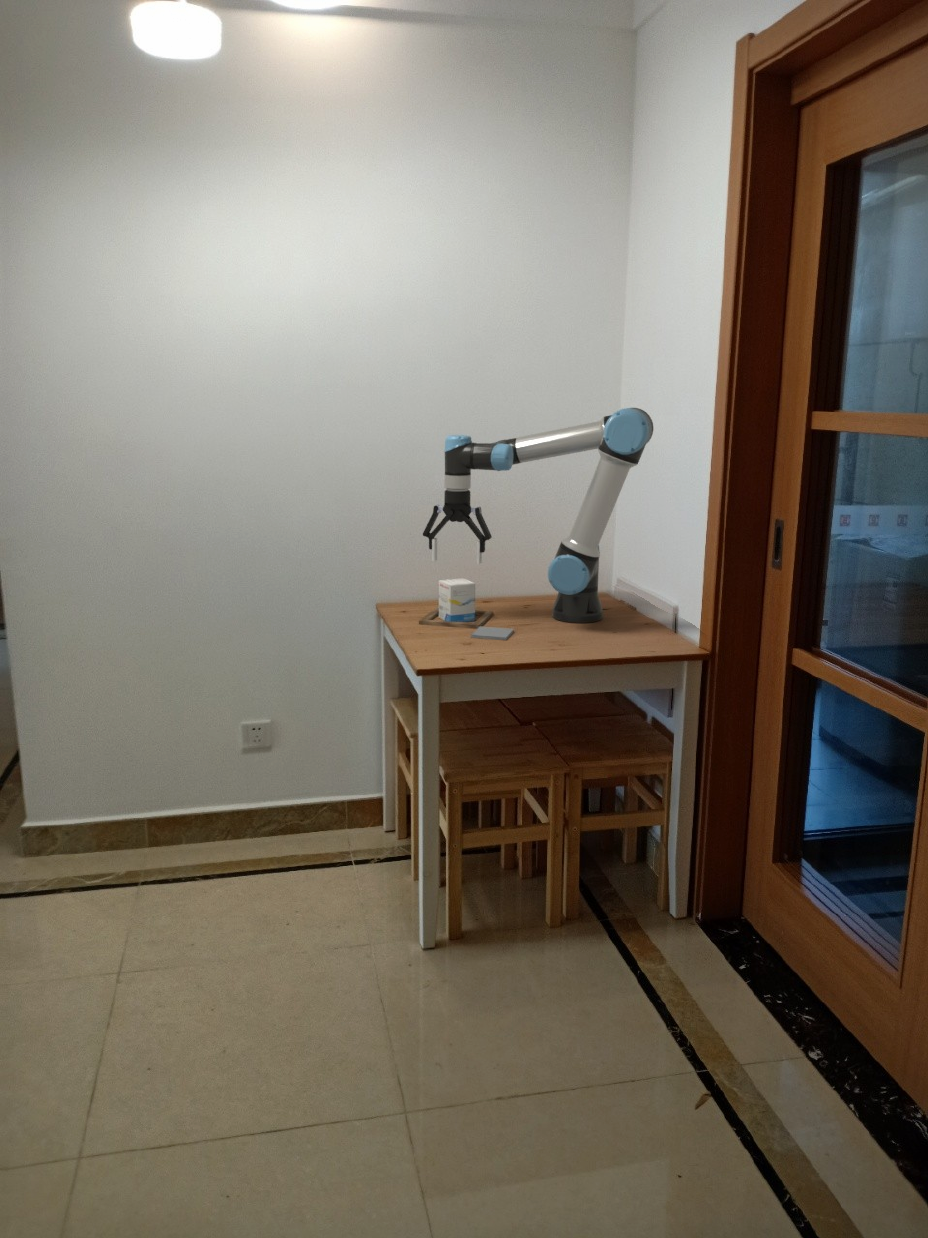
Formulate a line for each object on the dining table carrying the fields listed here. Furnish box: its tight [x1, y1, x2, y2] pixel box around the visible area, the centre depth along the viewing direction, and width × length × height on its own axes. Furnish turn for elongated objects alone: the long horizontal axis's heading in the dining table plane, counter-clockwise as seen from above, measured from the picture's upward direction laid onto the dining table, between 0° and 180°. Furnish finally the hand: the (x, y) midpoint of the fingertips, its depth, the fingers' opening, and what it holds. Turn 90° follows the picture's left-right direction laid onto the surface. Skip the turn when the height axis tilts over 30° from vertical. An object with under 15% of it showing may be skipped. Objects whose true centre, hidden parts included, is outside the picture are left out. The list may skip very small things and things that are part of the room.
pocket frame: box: [418, 607, 495, 629], centre depth 302 cm, size 18×18×1 cm
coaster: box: [470, 625, 515, 641], centre depth 284 cm, size 10×10×1 cm
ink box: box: [438, 577, 476, 623], centre depth 300 cm, size 9×8×12 cm
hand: (456, 562), depth 298 cm, fingers open, 13 cm apart
